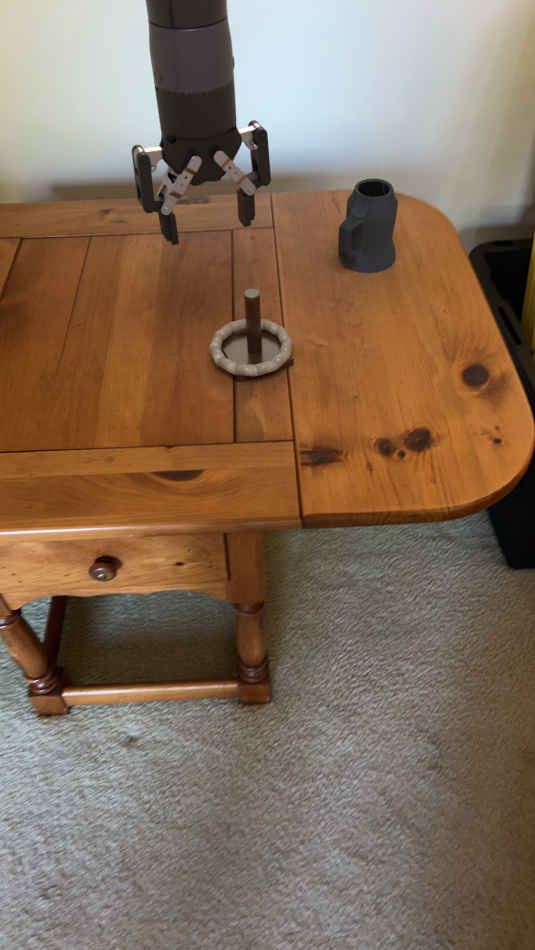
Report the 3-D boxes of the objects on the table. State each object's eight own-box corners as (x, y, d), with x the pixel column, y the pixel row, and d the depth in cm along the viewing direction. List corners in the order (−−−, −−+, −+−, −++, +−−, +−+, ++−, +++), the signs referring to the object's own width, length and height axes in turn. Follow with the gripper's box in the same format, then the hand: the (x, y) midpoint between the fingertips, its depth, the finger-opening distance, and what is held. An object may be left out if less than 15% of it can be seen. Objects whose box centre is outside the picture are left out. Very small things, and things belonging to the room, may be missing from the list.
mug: (358, 234, 109) (364, 166, 100) (406, 252, 105) (417, 184, 96) (316, 268, 103) (318, 199, 94) (365, 288, 99) (372, 219, 91)
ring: (227, 387, 85) (226, 379, 84) (200, 337, 91) (198, 328, 90) (305, 364, 87) (305, 355, 86) (273, 316, 94) (273, 308, 93)
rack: (238, 382, 87) (233, 319, 79) (217, 346, 92) (211, 284, 84) (293, 365, 89) (294, 302, 81) (270, 331, 94) (268, 268, 86)
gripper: (249, 47, 65) (255, 203, 78) (108, 72, 62) (138, 230, 74) (279, 73, 61) (280, 234, 73) (130, 102, 57) (158, 265, 70)
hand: (209, 232), depth 74 cm, fingers open, 8 cm apart
